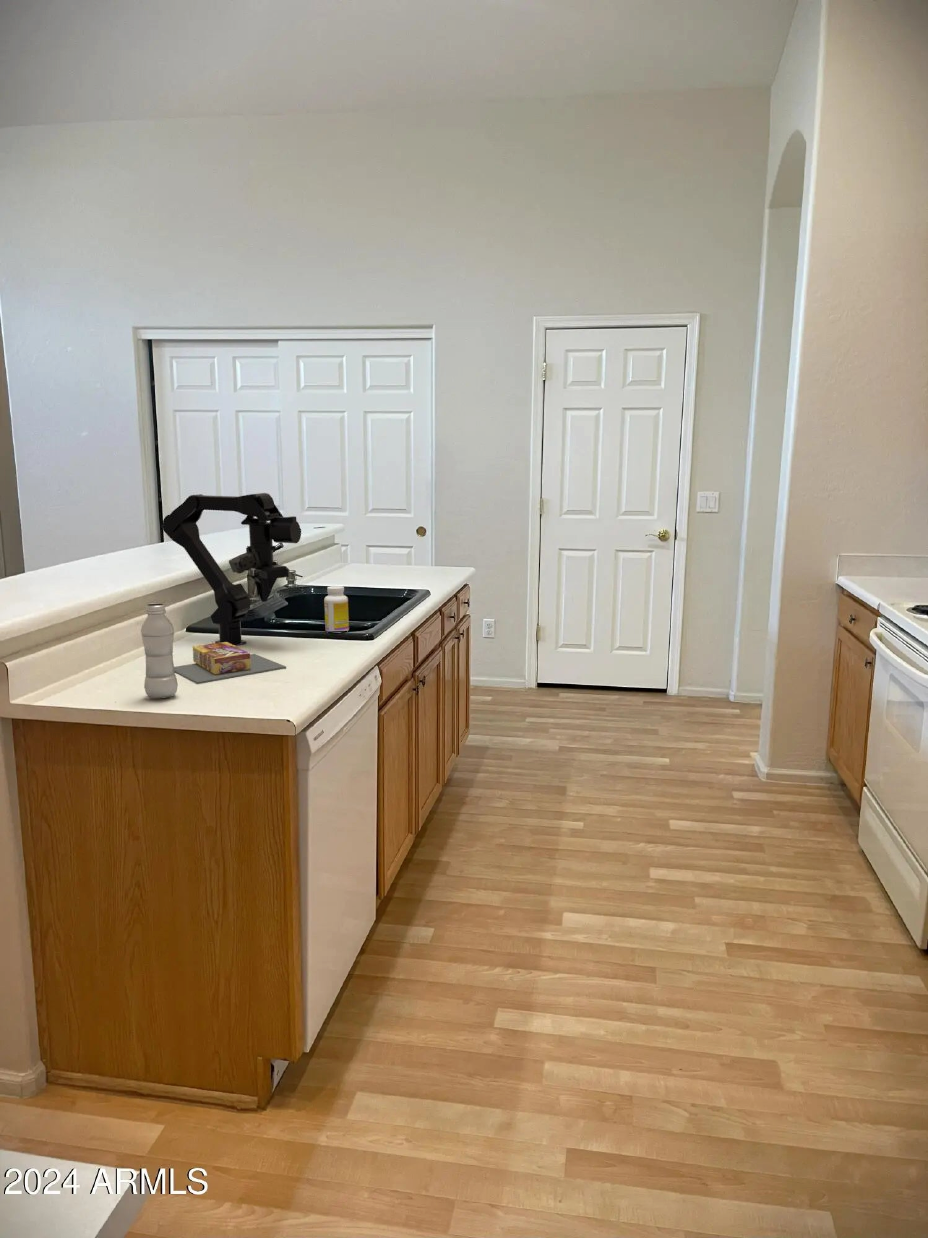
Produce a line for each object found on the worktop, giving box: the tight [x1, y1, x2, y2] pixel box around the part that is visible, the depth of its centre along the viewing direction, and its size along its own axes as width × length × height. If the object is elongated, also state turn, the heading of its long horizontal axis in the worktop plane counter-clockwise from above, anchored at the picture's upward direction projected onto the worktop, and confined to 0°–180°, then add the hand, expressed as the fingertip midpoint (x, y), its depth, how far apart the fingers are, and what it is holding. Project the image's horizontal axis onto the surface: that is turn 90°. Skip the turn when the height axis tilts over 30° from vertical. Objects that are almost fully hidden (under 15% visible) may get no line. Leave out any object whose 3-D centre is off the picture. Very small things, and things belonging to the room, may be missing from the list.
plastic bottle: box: [140, 602, 178, 699], centre depth 184 cm, size 6×7×20 cm
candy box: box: [192, 642, 251, 675], centre depth 210 cm, size 9×4×15 cm
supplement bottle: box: [323, 585, 350, 632], centre depth 250 cm, size 7×7×13 cm
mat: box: [174, 653, 287, 685], centre depth 210 cm, size 17×22×1 cm
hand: (264, 601), depth 231 cm, fingers closed
